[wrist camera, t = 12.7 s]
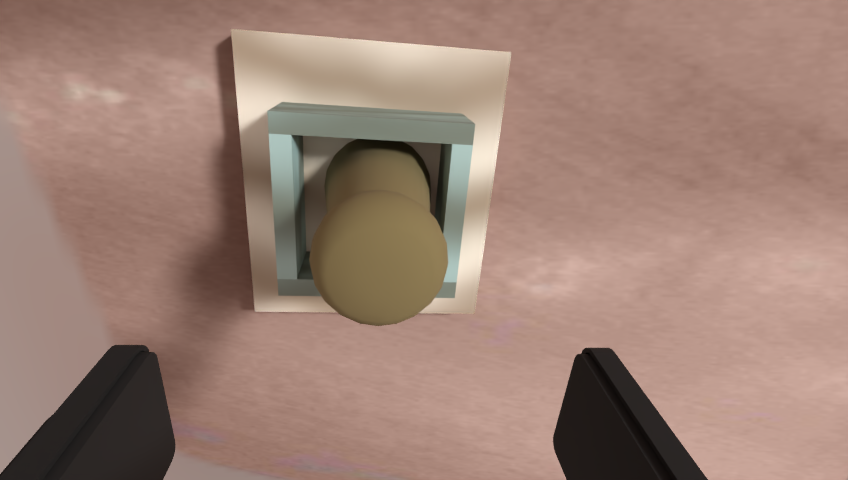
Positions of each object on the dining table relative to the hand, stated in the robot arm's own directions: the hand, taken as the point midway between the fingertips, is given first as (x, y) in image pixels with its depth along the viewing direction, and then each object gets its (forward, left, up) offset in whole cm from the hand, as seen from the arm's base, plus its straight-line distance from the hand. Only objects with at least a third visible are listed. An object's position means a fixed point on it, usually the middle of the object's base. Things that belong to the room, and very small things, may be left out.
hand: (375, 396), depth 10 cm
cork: (0, 0, -17) cm, 17 cm away
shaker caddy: (0, 0, -18) cm, 18 cm away
